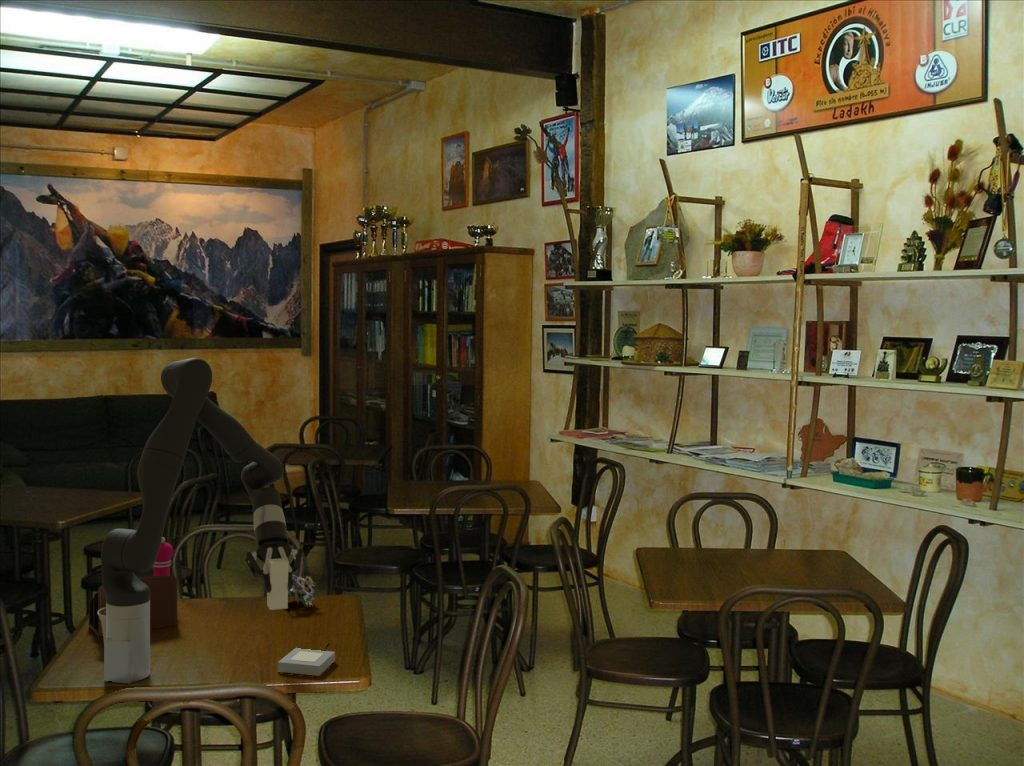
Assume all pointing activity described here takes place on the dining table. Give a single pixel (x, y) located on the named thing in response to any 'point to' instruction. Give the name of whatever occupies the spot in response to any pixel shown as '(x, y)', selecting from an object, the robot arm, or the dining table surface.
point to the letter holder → (160, 603)
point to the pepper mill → (163, 559)
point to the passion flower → (303, 589)
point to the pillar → (278, 584)
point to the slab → (306, 661)
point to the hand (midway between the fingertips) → (279, 589)
